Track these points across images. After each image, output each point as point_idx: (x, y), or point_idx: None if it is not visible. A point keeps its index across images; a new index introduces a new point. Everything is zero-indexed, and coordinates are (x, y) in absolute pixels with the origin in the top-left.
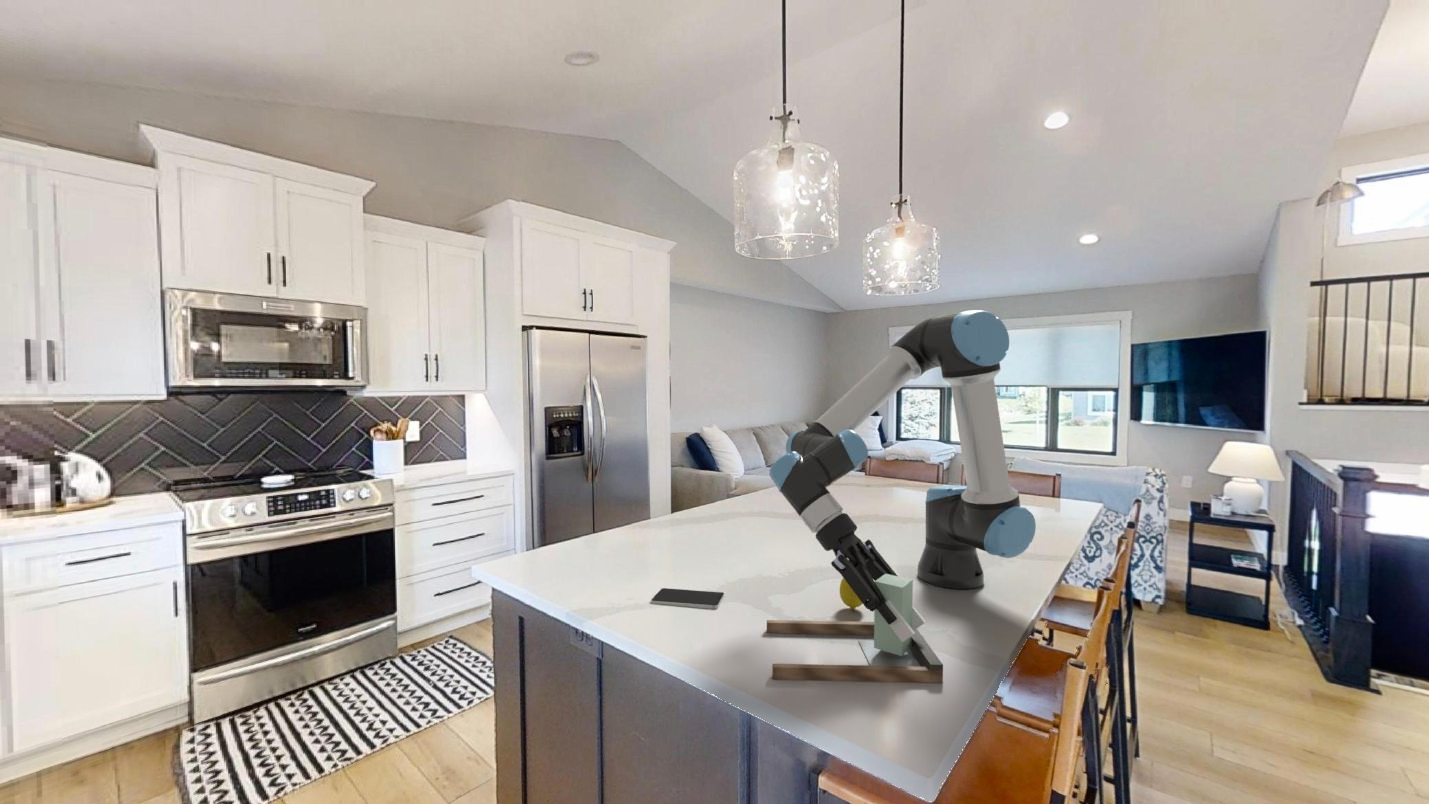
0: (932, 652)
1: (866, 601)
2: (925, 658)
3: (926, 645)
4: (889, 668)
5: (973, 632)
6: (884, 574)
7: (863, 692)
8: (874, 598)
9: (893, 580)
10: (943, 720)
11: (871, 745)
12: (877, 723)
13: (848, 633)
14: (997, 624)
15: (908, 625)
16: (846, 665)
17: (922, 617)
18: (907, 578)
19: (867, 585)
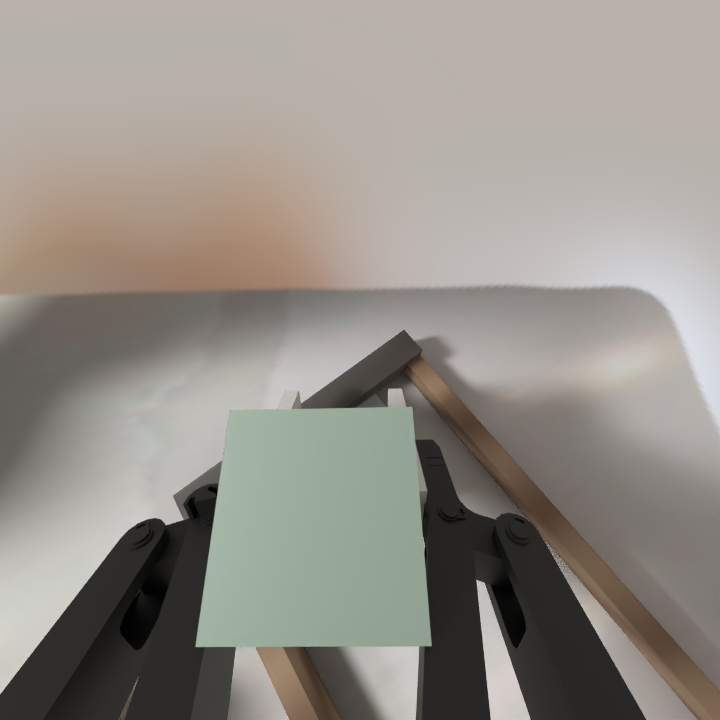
0: (361, 365)
1: (510, 594)
2: (395, 370)
3: (333, 388)
4: (479, 429)
5: (127, 361)
6: (219, 646)
7: (555, 458)
8: (538, 541)
9: (318, 514)
10: (517, 309)
11: (685, 372)
12: (623, 389)
13: (305, 653)
14: (59, 332)
15: (394, 404)
16: (553, 531)
17: (282, 399)
18: (224, 446)
19: (563, 658)
